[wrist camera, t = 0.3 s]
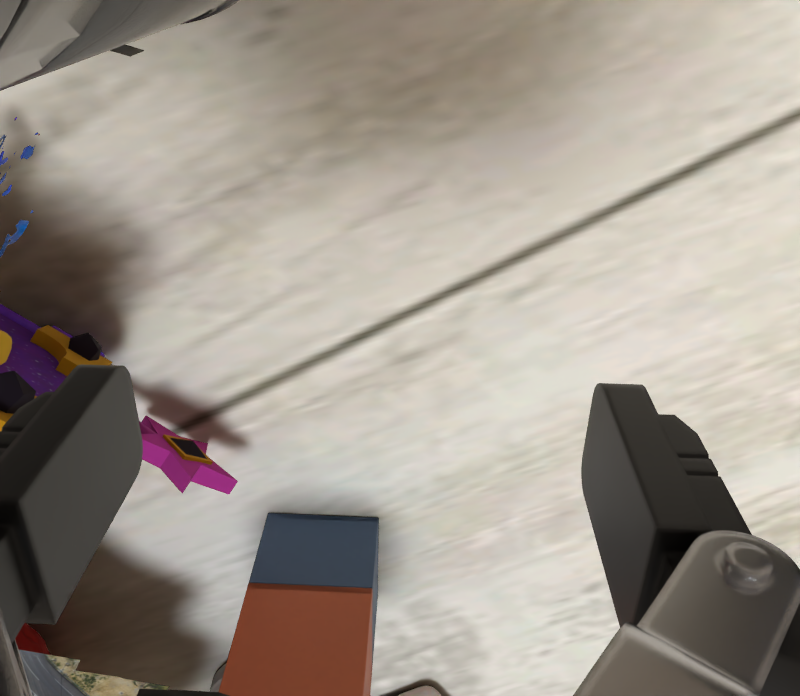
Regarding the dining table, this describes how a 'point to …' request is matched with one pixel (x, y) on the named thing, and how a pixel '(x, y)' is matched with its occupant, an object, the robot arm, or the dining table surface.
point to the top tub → (301, 642)
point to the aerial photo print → (74, 678)
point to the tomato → (31, 640)
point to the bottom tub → (319, 553)
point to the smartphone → (422, 692)
